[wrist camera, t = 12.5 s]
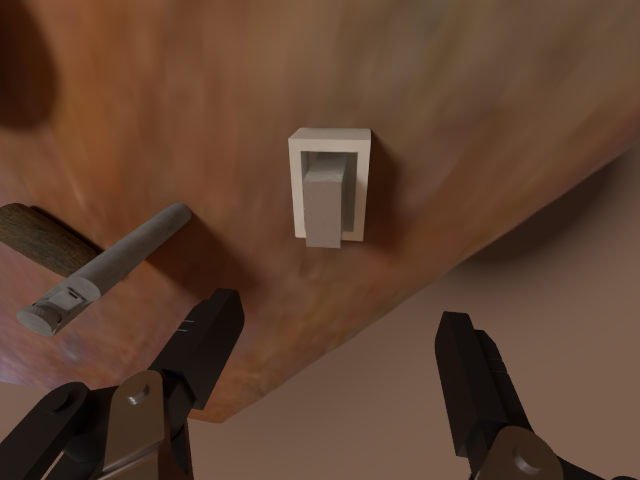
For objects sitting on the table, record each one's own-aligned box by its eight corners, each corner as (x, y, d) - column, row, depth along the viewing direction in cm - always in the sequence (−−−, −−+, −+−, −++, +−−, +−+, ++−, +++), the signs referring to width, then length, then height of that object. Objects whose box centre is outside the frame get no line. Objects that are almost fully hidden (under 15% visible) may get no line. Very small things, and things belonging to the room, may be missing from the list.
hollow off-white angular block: (370, 128, 32) (370, 140, 27) (363, 218, 39) (362, 241, 34) (300, 127, 33) (288, 138, 28) (304, 215, 40) (295, 237, 35)
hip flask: (142, 258, 49) (27, 357, 33) (123, 242, 48) (-8, 337, 31) (195, 214, 43) (84, 311, 26) (175, 194, 41) (43, 283, 24)
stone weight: (19, 219, 49) (-26, 239, 43) (24, 193, 45) (-24, 211, 40) (100, 269, 53) (68, 293, 47) (110, 248, 49) (78, 271, 44)
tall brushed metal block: (347, 152, 33) (341, 182, 24) (346, 206, 36) (340, 248, 28) (318, 152, 33) (302, 181, 25) (320, 205, 37) (306, 246, 29)
